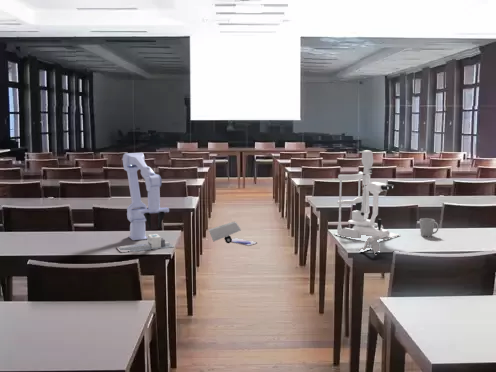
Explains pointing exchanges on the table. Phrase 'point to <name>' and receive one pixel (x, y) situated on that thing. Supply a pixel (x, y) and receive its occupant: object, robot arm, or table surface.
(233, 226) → the grey tilted panel
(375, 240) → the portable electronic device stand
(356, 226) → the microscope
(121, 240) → the table surface
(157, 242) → the block
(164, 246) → the rail
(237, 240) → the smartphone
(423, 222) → the cup
